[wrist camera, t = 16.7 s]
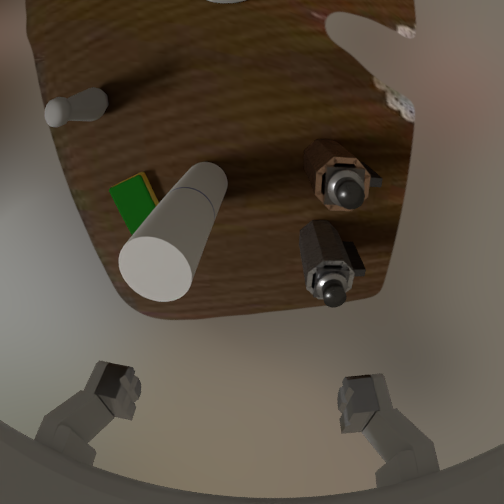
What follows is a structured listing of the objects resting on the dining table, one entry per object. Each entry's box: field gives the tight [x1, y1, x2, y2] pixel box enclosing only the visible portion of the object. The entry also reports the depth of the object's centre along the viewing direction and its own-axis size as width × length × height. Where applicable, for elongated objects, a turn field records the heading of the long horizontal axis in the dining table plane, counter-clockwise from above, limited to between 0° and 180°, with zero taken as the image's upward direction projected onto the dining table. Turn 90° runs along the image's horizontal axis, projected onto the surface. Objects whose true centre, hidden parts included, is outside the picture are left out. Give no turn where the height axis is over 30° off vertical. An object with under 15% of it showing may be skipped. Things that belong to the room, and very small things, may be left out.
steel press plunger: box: [316, 265, 348, 307], centre depth 42 cm, size 4×4×12 cm
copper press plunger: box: [327, 170, 365, 209], centre depth 35 cm, size 4×4×12 cm
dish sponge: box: [109, 172, 159, 235], centre depth 49 cm, size 7×14×2 cm, turn 19°
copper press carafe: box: [303, 139, 382, 211], centre depth 38 cm, size 7×9×13 cm
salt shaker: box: [45, 87, 109, 127], centre depth 34 cm, size 6×6×13 cm
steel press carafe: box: [299, 220, 366, 299], centre depth 45 cm, size 7×9×13 cm
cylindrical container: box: [119, 162, 228, 302], centre depth 36 cm, size 7×7×25 cm
